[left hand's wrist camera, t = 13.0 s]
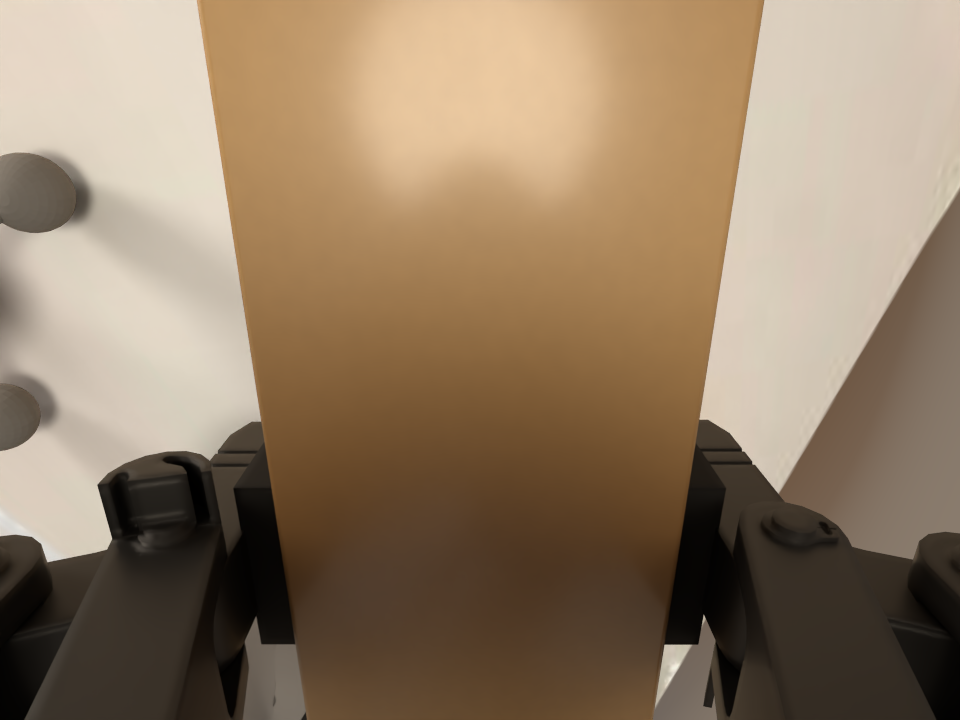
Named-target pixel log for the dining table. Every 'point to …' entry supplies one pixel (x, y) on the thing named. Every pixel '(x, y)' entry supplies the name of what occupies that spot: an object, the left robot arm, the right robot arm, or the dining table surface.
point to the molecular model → (30, 208)
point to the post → (480, 330)
